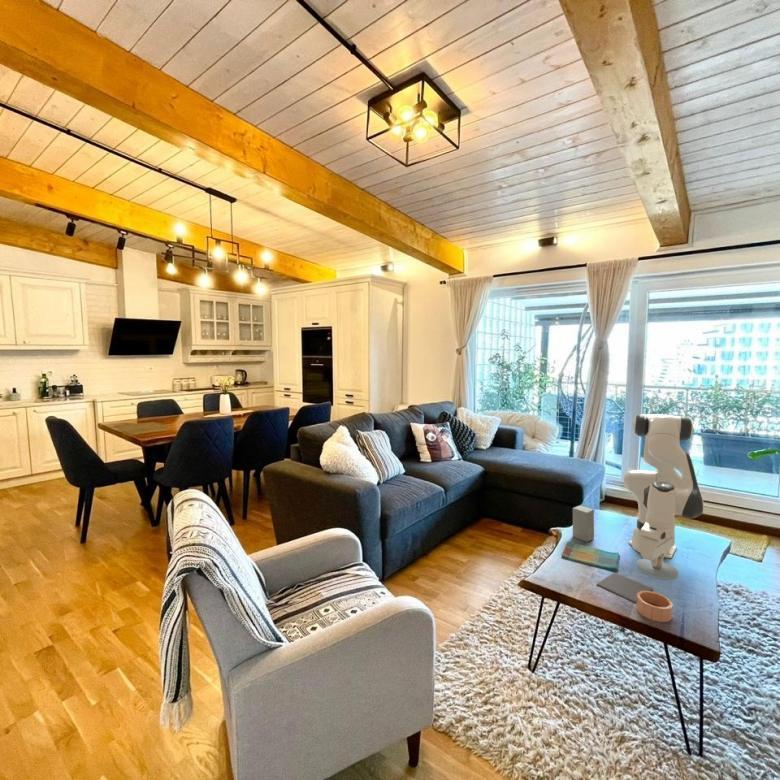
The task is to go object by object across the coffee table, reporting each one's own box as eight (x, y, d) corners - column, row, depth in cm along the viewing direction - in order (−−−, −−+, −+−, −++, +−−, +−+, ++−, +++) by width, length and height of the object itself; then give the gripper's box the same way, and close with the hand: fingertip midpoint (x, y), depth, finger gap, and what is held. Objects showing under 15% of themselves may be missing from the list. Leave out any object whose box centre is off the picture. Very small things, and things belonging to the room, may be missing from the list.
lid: (645, 557, 161) (646, 545, 161) (684, 572, 151) (685, 559, 150) (629, 568, 154) (630, 555, 153) (669, 584, 143) (670, 570, 143)
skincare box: (594, 539, 213) (595, 509, 211) (586, 543, 209) (587, 512, 207) (578, 533, 220) (580, 504, 218) (570, 536, 216) (572, 507, 214)
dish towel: (618, 574, 181) (618, 568, 181) (560, 559, 193) (561, 554, 193) (620, 557, 196) (620, 552, 195) (566, 544, 208) (567, 539, 207)
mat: (614, 573, 180) (614, 572, 180) (652, 589, 168) (652, 588, 168) (596, 584, 171) (596, 583, 171) (635, 603, 159) (635, 601, 159)
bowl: (644, 599, 161) (645, 587, 161) (676, 614, 153) (677, 601, 152) (630, 610, 155) (631, 597, 155) (663, 625, 146) (664, 612, 146)
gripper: (662, 517, 159) (659, 552, 161) (637, 531, 147) (635, 568, 149) (681, 523, 154) (678, 559, 156) (657, 537, 142) (654, 576, 144)
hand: (657, 563), depth 152 cm, fingers closed on lid, 3 cm apart
